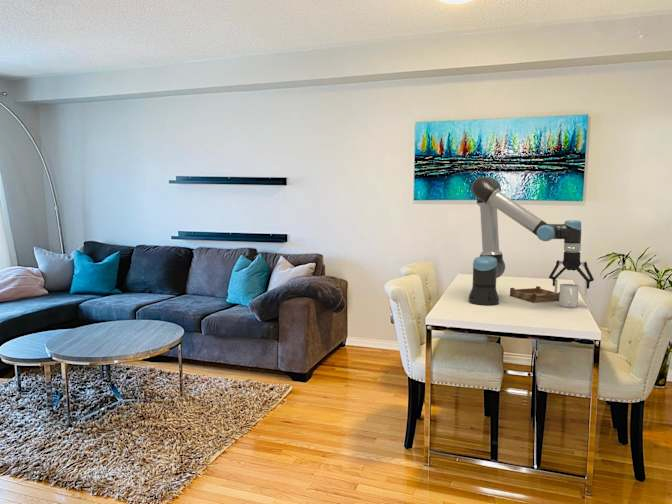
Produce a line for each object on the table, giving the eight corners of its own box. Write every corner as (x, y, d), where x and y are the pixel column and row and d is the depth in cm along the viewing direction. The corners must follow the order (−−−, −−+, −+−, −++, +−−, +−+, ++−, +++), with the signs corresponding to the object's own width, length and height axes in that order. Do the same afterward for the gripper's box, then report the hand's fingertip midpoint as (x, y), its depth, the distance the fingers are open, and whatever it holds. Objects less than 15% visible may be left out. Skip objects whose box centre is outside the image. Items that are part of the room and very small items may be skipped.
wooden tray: (509, 295, 286) (510, 287, 285) (538, 294, 292) (538, 286, 292) (533, 302, 268) (533, 294, 267) (562, 300, 274) (563, 292, 274)
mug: (561, 308, 254) (562, 287, 253) (557, 303, 266) (558, 283, 265) (580, 310, 252) (581, 288, 251) (575, 305, 263) (577, 284, 262)
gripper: (543, 251, 259) (542, 292, 261) (599, 253, 246) (597, 297, 248) (546, 249, 265) (545, 290, 268) (600, 252, 253) (598, 294, 255)
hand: (570, 294), depth 258 cm, fingers open, 13 cm apart
